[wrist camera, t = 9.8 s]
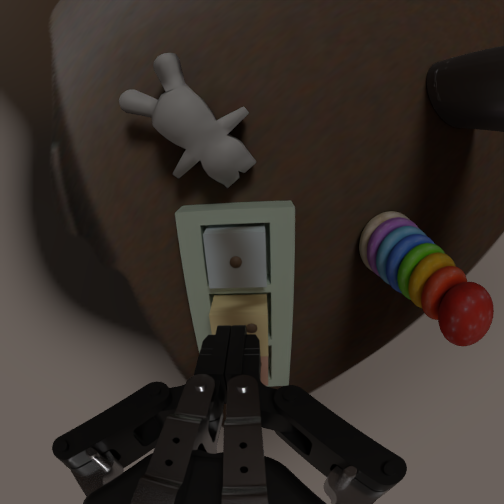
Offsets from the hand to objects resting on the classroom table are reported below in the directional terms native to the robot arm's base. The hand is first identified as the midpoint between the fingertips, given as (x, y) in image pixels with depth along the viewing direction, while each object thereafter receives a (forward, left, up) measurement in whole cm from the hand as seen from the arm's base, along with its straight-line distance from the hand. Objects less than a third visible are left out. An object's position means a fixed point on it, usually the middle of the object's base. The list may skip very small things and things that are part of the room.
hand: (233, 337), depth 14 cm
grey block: (+1, +2, -17) cm, 18 cm away
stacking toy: (-17, +2, -18) cm, 25 cm away
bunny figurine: (+5, -12, -18) cm, 23 cm away
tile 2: (+1, +10, -15) cm, 18 cm away
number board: (+1, +10, -18) cm, 20 cm away
